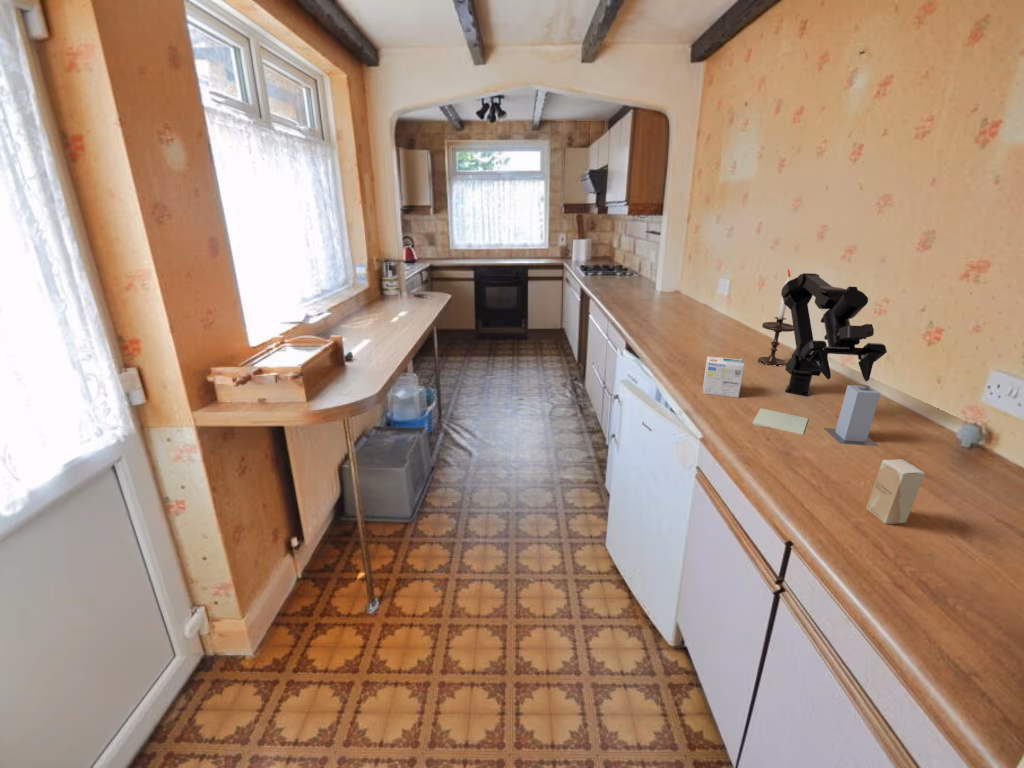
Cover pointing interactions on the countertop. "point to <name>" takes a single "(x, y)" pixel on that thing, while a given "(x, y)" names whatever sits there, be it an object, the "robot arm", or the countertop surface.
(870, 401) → the gray pillar with knob
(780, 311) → the candlestick
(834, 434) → the grey square base plate
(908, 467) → the box
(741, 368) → the light bulb box
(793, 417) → the mat
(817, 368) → the robot arm
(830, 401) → the countertop surface
